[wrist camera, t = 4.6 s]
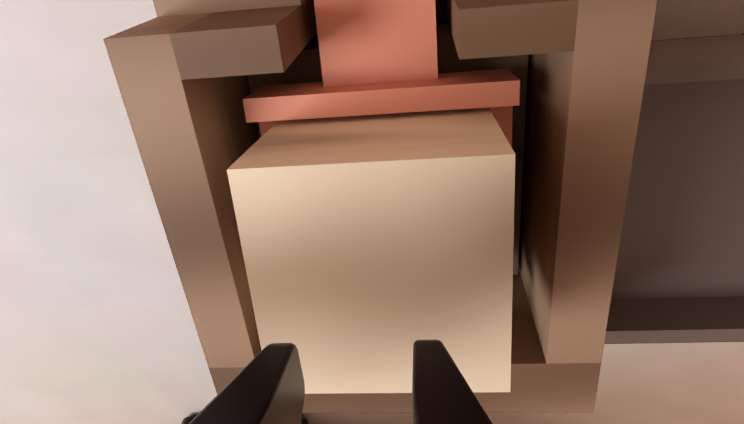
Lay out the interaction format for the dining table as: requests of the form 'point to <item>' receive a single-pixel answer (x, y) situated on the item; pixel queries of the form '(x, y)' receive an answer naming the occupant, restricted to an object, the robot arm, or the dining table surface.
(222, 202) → the brown wooden lever base
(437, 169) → the block
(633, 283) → the tray
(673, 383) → the dining table surface
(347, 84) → the lever
